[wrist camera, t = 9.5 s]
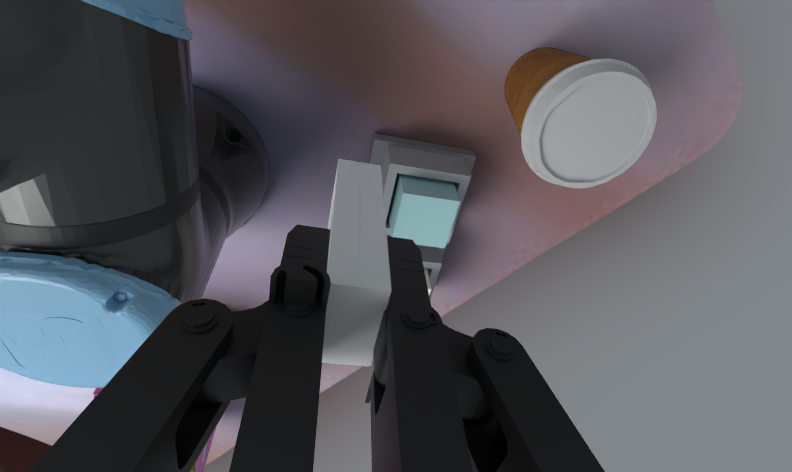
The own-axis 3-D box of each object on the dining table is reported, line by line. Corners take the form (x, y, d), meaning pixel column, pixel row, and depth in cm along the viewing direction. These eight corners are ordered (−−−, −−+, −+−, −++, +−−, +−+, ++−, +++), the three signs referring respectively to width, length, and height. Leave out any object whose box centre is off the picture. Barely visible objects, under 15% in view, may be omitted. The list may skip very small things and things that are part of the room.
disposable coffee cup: (587, 11, 38) (667, 43, 28) (592, 116, 43) (660, 173, 33) (477, 48, 39) (517, 90, 29) (495, 145, 44) (534, 208, 34)
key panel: (346, 276, 53) (345, 309, 48) (374, 133, 43) (375, 157, 38) (428, 286, 54) (435, 318, 50) (473, 150, 44) (486, 175, 40)
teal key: (388, 211, 44) (391, 241, 40) (398, 166, 41) (403, 193, 37) (437, 218, 45) (444, 248, 41) (450, 174, 42) (460, 201, 38)
